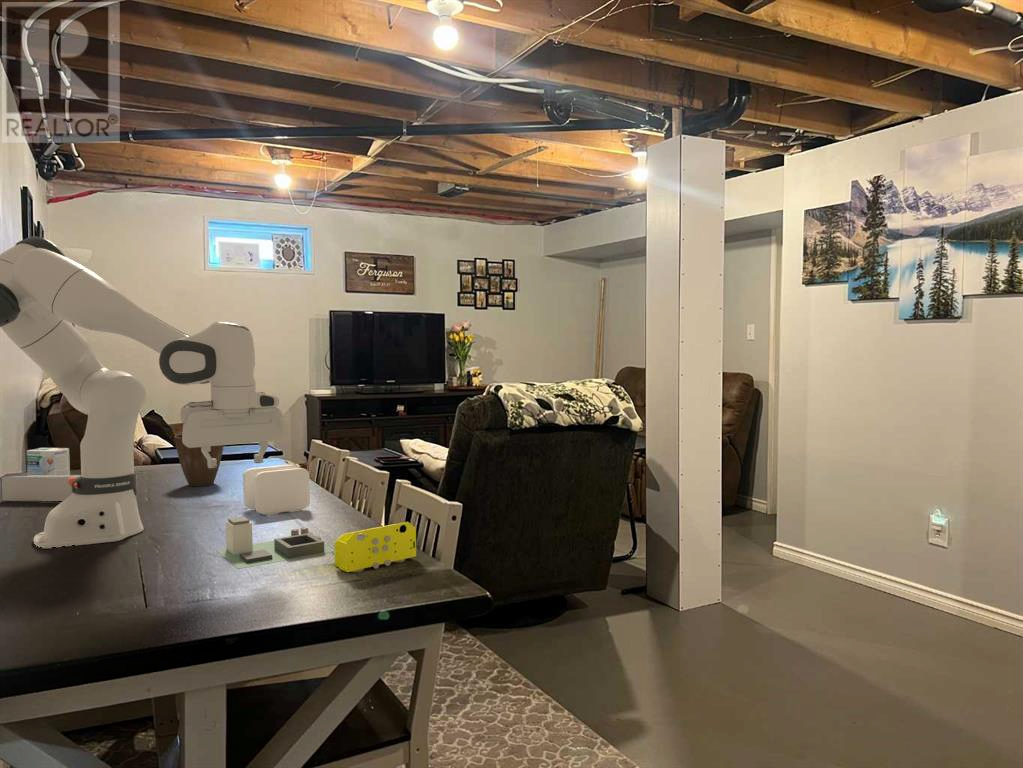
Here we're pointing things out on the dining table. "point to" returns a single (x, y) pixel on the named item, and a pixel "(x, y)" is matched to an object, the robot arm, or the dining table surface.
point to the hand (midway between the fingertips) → (235, 465)
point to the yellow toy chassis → (375, 547)
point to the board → (279, 550)
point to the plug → (239, 535)
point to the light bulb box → (48, 461)
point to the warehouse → (36, 487)
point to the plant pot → (197, 463)
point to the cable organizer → (276, 489)
